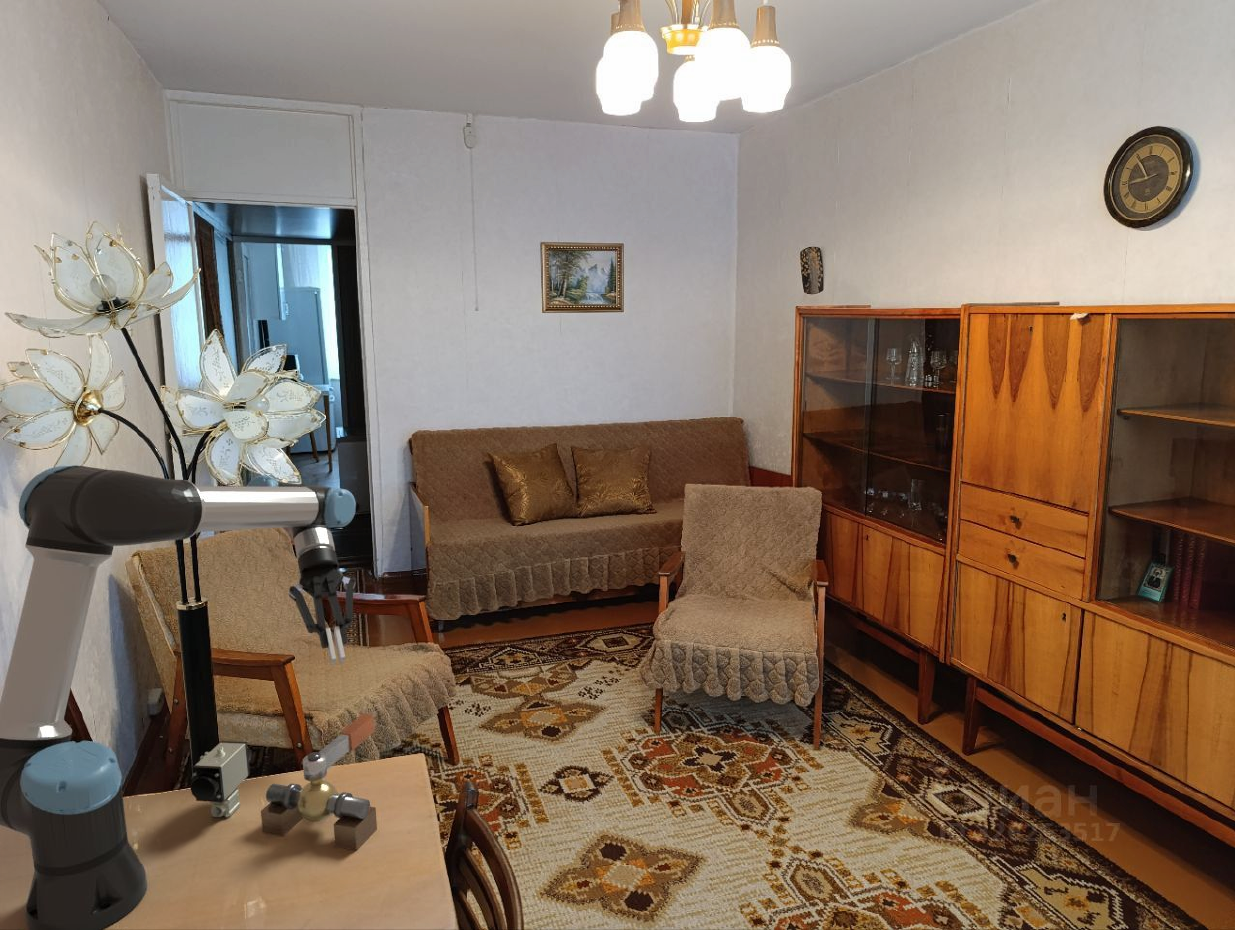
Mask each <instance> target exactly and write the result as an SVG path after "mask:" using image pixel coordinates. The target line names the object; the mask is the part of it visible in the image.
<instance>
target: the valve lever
mask: <svg viewBox="0 0 1235 930" xmlns="http://www.w3.org/2000/svg"><path fill="white" fill-rule="evenodd" d="M374 718H375V716H374V715H373V714H368V713H367V714H366V713H362V714H361V715H359V717H357V718H356V719H355V720H353V722H351V723H349V724H348V725H347V726H346V727H345V728H343V729H342V730H340V732H339V735H338V736H337V737H336V738H334V739H333V740H332V741H330V742H329V743H328V744H327V745H326V746H324V747H322V749H320V750H319V751H313V752H310V753H308V754H307V755H306V756H304V758H302V766H303V778H304V780H305V781H307V782H310V781H316V780H320V779H322V780H323V779H324V778H326V777H327V775H328V769H330V768H331V767H332V766H333V765H334V764H336V763H337V762H338V761H339V760H340V759H342V758H343V756H345V755H346V754H347V753H348V752H349V751H350V752H352V751H354V750H355V749H356V748H357V747H359V746H360V745H362V743H363V742H364V741H366V740H367V739H368V738H369V737H370V736H371V735H372V734H374V732H375V730H376V729H375V719H374ZM375 733H376V732H375Z"/></svg>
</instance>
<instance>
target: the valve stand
mask: <svg viewBox="0 0 1235 930" xmlns="http://www.w3.org/2000/svg"><path fill="white" fill-rule="evenodd" d="M265 799H266V802H267V803H268V804H267V805H265V806H264V808H262V809H261V810H260V817H261V818H260V819H261V827H262V828H261V829H262V833H263V834H267V835H268V834H269V835H274V836H278V837H284V836H285V835H287V833H289V832H290V831H291V830H292V829H293V828H294V827H296V826H297V825H298V823H301V821H302V820H303V819H304V821H306V822H310V823H321V822H324V821H326V820H327V819H329V818H330V817H332V816H333V814H334V817H335V818H337V820H336V821H335V822H334V823H333V835H334V836H333V837H334V847H336V848H341V849H346V850H351V851H356V852H357V851H358V850H359V849H360V848H361V847H362V846H363V845H364V844H365V843H366V841H367V840H368V839H369V838H370V837H371V836H372V835H373V834H374V833H375V832H376V831H377V829H378V824H377V822H378V821H377V809H376V806H371V801H370V800H369V799H366V798H360V797H354V796H353V794H352V793H350V792H345V791H344V792H341V793H338V789H337V788H336V787H335V786H334V784H332V783H331V782H329V781H328V780H324V779H323V778H322V779H320V780H316V781H309V782H307V784H305V785H304V786H303V787H302V785H301V784H298V783H290V784H288V785H284V784H279V783H272V784H270V786H269V787H268V788H267V790H266V794H265Z"/></svg>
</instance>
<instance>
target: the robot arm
mask: <svg viewBox="0 0 1235 930" xmlns="http://www.w3.org/2000/svg"><path fill="white" fill-rule="evenodd" d="M356 506H357V502H356V499H355V496H354V495H353V494H352V491H349V490H348V489H345V488H340V487H336V486H333V487H330V486H329V487H328V486H319V485H308V484H300V483H294V482H293V483H292V482H291V483H290V482H284V481H283V482H282V481H280V480H278V479H277V478H275V477H271V476H268V475H266V474H263V475H262V474H261V475H258V476H255V477H254V478H252V479H251V480H250V481H249V482H248V483H247V484H246V486H239V485H238V486H234V485H233V486H232V485H231V486H227V485H225V486H224V485H223V486H222V485H221V486H220V485H219V486H215V485H212V486H211V485H200V486H199V485H195V484H194V483H193V482H192V481H189V480H187V479H169V478H163V477H156V476H155V477H154V476H150V475H145V474H142V473H141V474H140V473H136V472H130V471H126V470H117V469H116V470H115V469H106V468H97V467H92V466H85V465H78V464H76V465H75V464H74V465H73V464H72V465H59V466H55V467H54V466H53V467H51V468H48V469H45V470H44V471H42V472H40V473H39V474H36V475H35V476H34V477H32V479H31V480H30V481H29V482H27V484H26V486H24V489H23V490H22V492H21V495H20V498H19V502H18V513H19V517H20V520H22V521H23V524H24V526H25V527H26V529H28V533H27V538H26V542H25V545H24V546H25V548H26V549H27V551H28V552H29V553H30V555H31V556H32V557H33V563H32V567H31V571H30V576H29V578H28V583H27V584H28V585H27V589H26V593H25V596H24V601H23V605H22V609H21V613H20V618H19V622H18V625H17V629H16V635H15V638H14V643H13V645H12V646H13V647H12V651H11V655H10V659H9V662H8V663H9V665H8V668H7V672H6V676H5V681H4V685H3V690H2V694H1V697H0V826H3V827H4V828H5V827H6V828H8V829H10V830H14V831H15V832H18V833H21V834H24V835H26V836H28V839H29V841H30V846H31V847H30V848H31V853H32V859H33V866H34V873H33V876H32V880H31V883H30V884H31V885H30V889H29V892H28V896H27V900H26V905H25V919H26V925H27V929H28V930H102V929H104V928H106V927H108V926H111V925H112V924H114V923H116V922H118V921H119V920H120V919H122V918H124V917H125V916H126V915H128V914H129V913H131V911H132V910H134V909H135V908H136V907H137V906H138V905H139V904H140V903H141V901H142V900H143V898H144V897H145V895H146V893H147V889H148V882H147V874H146V869H145V867H144V865H143V864H142V862H141V860H140V858H139V857H138V855H137V854H136V851H135V850H134V849H133V847H132V846H131V844H130V841H129V839H128V838H129V837H128V832H127V831H128V829H127V823H126V822H127V821H126V815H125V814H126V812H125V805H124V798H123V788H122V780H123V779H122V778H123V777H122V772H121V769H120V765H119V762H118V758H117V756H116V753H115V752H114V751H113V750H112V749H111V748H110V747H109V746H107V745H106V744H103V743H101V742H97V741H89V740H81V741H80V742H76V740H75V741H74V740H72V741H71V739H72V735H73V734H72V733H73V729H72V728H71V726H70V725H69V724H68V723H67V721H65V715H66V709H67V706H68V703H69V702H68V700H69V696H70V692H71V687H72V682H73V678H74V675H75V670H76V666H77V661H78V656H79V652H80V647H81V643H82V638H83V636H84V635H83V634H84V629H85V625H86V622H87V616H88V611H89V607H90V604H91V603H90V602H91V599H92V593H93V591H94V585H95V580H96V577H97V573H98V572H97V571H98V568H99V566H100V565H101V564H103V563H104V562H106V561H107V560H109V559H110V558H111V557H112V555H113V550H114V547H121V546H133V545H134V546H135V545H140V544H141V545H142V544H149V543H150V544H151V543H158V542H167V541H168V542H169V541H180V540H187V539H189V538H191V537H193V536H194V535H195V534H196V533H208V532H209V533H210V532H226V531H228V532H229V531H241V530H244V531H245V530H260V529H274V528H275V529H278V528H279V529H280V528H290V530H291V535H292V538H293V544H294V548H295V553H296V558H297V563H298V564H297V565H298V570H299V575H300V578H299V582H298V583H297V584H296V585H292V586H290V587H289V589H288V590H289V592H288V596H289V597H290V599H292V600H293V602H295V605H296V606H297V609H298V611H299V613H300V616H301V618H302V620H303V623H304V625H305V627H306V630H307V632H308V633H309V634H314V633H317V635H318V636H319V637H318V638H319V641H320V645H321V646H320V647H321V648H322V649H327V652H328V658H329V662H330V665H331V666H334V665H336V662H337V656H338V660H339V664H342V663H345V660H346V654H345V650H344V646H346V645H347V642H348V635H347V631H346V628H348V627H352V624H353V622H354V621H353V619H354V589H355V587H356V583H357V578H356V577H355V576H351V577H347V576H345V575H344V574H343V572H342V571H341V570H340V566H339V561H338V557H337V553H336V547H335V542H334V538H333V534H332V529H331V528H343V527H346V526H348V525H349V524H350V523H351V522H352V520H353V519H354V517H355V514H356ZM342 584H343V588H344V590H345V618H344V616H343V613H342V609H341V605H340V603H339V598H338V594H337V593H338V592H337V591H338V590H339V588H340V586H341V585H342ZM304 591H305V593H307V594H308V595H309V596H310V597H312V598H313V599H312V600H313V604H314V612H315V618H316V620H314V619H313V616H312V613H311V611H310V609H309V606H308V604H307V602H306V600H305V598H304V595H303V592H304ZM323 598H327V599H328V602H329V605H330V609H331V613H332V616H333V620H334V623H335V626H334V630H333V634H332V632H331V627H326V619H325V613H324V605H323ZM315 621H316V622H315ZM332 635H333V636H334V637H332ZM333 638H334V640H333ZM334 642H335V646H336V651H337V655H336V651H335V646H334Z"/></svg>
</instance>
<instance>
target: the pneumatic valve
mask: <svg viewBox="0 0 1235 930" xmlns="http://www.w3.org/2000/svg"><path fill="white" fill-rule="evenodd" d="M252 754H253V753H252V750H251V749H250V748H249V746H248V742H247V741H234V740H233V741H231V740H230V741H229V740H228V741H227V740H222V741H220V742H219V743H218V744H217V745H216V746H215V747H213V749H211V751H205V752H204V755H201V756H199V761H198V762H197V763H196V764H195V765H194V766H193V767H192V776H191V777H190V791H191V795H192V796H193V797H194V798H195V800H196V801H197V802H209V803H210V805H211V809H210V812H211V817H214V818H220V817H225V818H230V817H231V816H232V815H233V814H234V813H235V812H236V811H237V810H238V809H239V808H240V806H241V803H240V799H239V798H240V791H239V789H238V787H239V785H240V784H241V783H242V782H243V781H245V780H246V778H247V777H248V776H250V774H251V772H250V761H251V759H252Z"/></svg>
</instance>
